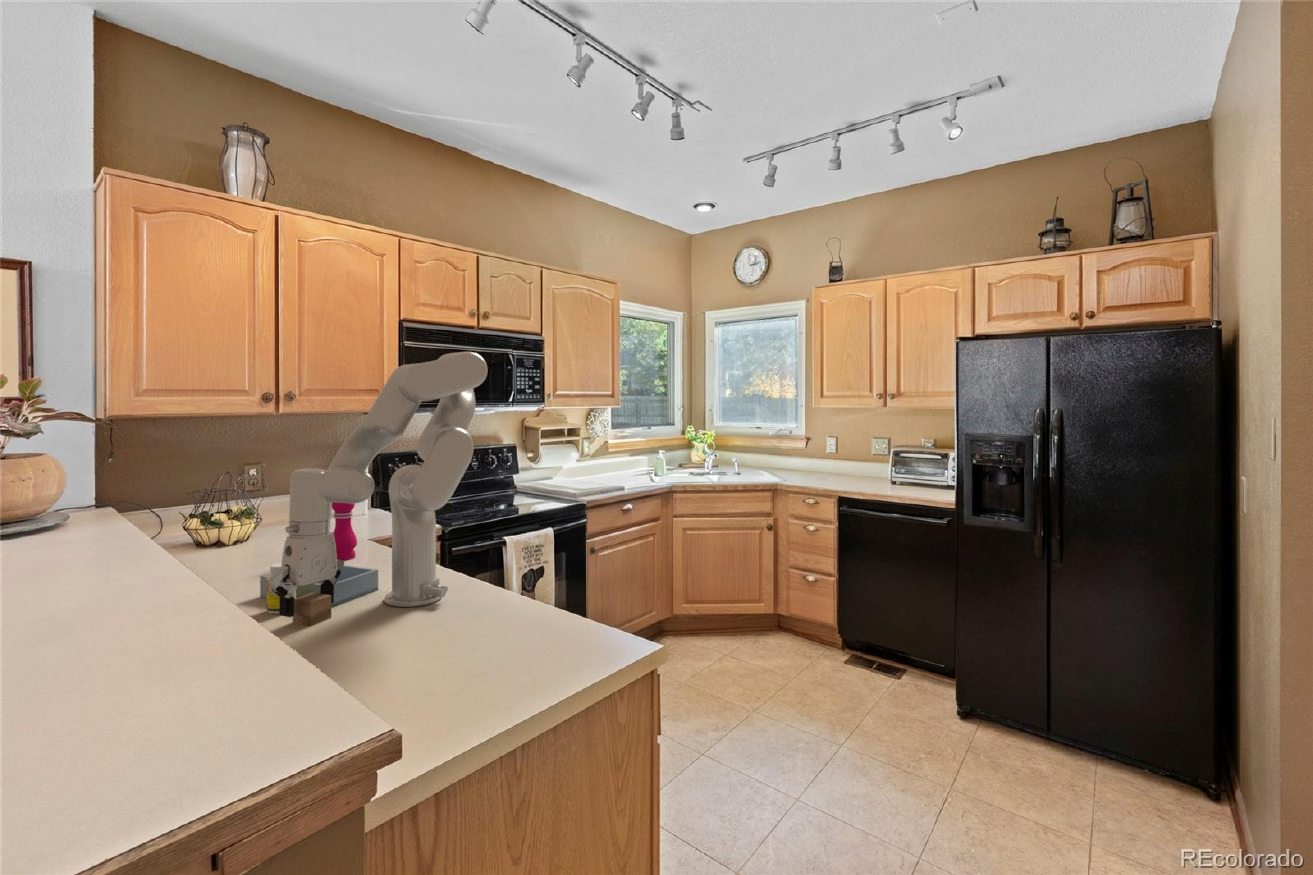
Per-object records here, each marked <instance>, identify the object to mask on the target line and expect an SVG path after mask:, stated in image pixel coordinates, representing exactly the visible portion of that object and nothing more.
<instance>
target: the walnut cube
mask: <svg viewBox="0 0 1313 875" xmlns="http://www.w3.org/2000/svg"><path fill="white" fill-rule="evenodd" d="M331 618H332V607H331V595H326V594H320V593H310V594H307V595H304V596H301V597H298V598H295V599H294V615H293V617H292V624H293V623H294V624H297V625H298V624H299V625H303V626H310V627H312V626H314V625H318V624H319V623H322V622H324V621H327V620H329V619H331Z"/></svg>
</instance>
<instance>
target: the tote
mask: <svg viewBox="0 0 1313 875" xmlns="http://www.w3.org/2000/svg"><path fill="white" fill-rule="evenodd" d="M268 574H270V572H269V573H267V574H262V575H259V576H260V577H259V585H260V586H259V588H260V590H259V591H260V593H259V594H260V598H263V599H264V598H265V599H267V593H266V577H267V575H268ZM322 583H323V581H322V582H318V583H315V584H311V585H308V586H304V587H297V588H296V598H298V597H301V596H304V595H307V594H310V593H320V586H321V584H322ZM378 590H379V569H377V568H376V569H375V568H368V567H361V566H360V567H359V566H354V565H353V566H352V565H347V564H344V565H343V568H342V570H341V574H340V576H339V577H338V579H337V583H336V584H335V585H334V602H333V603H332V604H331V608H333V607H335V606H336V607H337V606H339V605H341V604H344V603H346V602H349V601H353V600H355V599H357V598H360V597H363V596H366V595H368V594H371V593H373V591H374V592H376V591H378Z"/></svg>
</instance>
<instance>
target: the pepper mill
mask: <svg viewBox="0 0 1313 875" xmlns="http://www.w3.org/2000/svg"><path fill="white" fill-rule="evenodd" d="M355 504H356V503H354V504H350V503H336V502H331V510H333V511H334V513H333V518H334V521H335V522H334V525H335V526H334V529H333V531H332V532H333V534H334V539H335V544H336V556H337V559H339V560H342V561H348V560H349V561H350V560H352V559H355V558H356V550H354V549H355V548H356V547H357V545H358V538H357V536H356V534H355V532H354V529H353V526H352V517H353V516H354V515H353V509H354V508H355Z"/></svg>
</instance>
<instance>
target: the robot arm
mask: <svg viewBox="0 0 1313 875" xmlns="http://www.w3.org/2000/svg"><path fill="white" fill-rule="evenodd" d="M487 377H488V365H487V361H485V359H484V357H482V355H480V354H479V353H477V352H472V351H459V352H450V353H445V354H442V355H441V356H439V358H438V359H435V360H431V361H425V362H419V363H410V364H407V363H406V364H402V365H400V366H398V367H397V368H395V369H394V371H392V373H391V374H390V376H389V378H388V379H387V381H386V383H385V384H384V386H383V388H382V389H381V390H380V392H379V394H378V396H377V398H376V399H375V401H374V403H372V406H371V408H370V410H369V411H368V413H367V414H366V416H365V417H364V419H363V420H362V421H361V422H360V423H359V424H358V425H357V426H356V428H355V429H354V430H353V432H351V434H350V435H348V437H347V438H346V439H345V440H344V442H343V443H342V445H341V446H340V447H339V448H338V451H337V452H336V454H335V455H334V457H333V459H332V460H331V461H330V463H329V466H328V467H327V469H324V468H323V469H322V468H300V469H295V470H294V471H292V473H291V474H290V481H289V483H290V484H289V511H288V512H289V513H288V520H289V521H288V525H287V526H285V528H284V530H285V533H287V534H288V536H286V537H285V541H284V547H283V551H282V558H281V563H282V565H281V569H280V570H279V571H278V572H277V573H275V574H274V575H273V576H272V577H270V578H269V579H268V582H269V584H270V586H271V588H272V591H273V592H274V593H275V594H276V595H277V596H278V597H280V603H279V616H282V617H287V618H293V615H294V597H291V596H292V595H293V593H294V591H295V590H296V588H297V587H304V586H308V585H311V584H315V583H318V582H322V581H323V583H322V584H321V586H320V594H326V595H331V604H332V603H333V602H334V585H335V584H336V583H337V579H338V577H339V576H340V574H341V570H342V568H343V565H345V562H344V561H345V560H339V559H337V556H336V544H335V539H334V534H333V532H334V531H331V522H332V521H331V516H332V502H336V503H350V504H354V503H355V504H359V503H362V502H365V501H366V500H368V499H370V497H372V495H373V493H374V491H375V487H376V485H375V481H374V480H375V479H374V478H373V476H372V475H371V474H370V473H368V472H367V469H368V467H369V465H370V464H371V463H372V461H373V460H374V458H376V456H377V455H379V453H380V452H382V450H384V449H385V448H388V447H389V446H390V445H392V444H394V443H395V442H397V441H398V440H399V439H401V438H402V436H403V434H404V433H405V432H406V430H407V428H408V426H409V424H410V422H411V420H412V419H413V417H414V415H415V414H416V412H417V410H418V408H419V407H420V405H421V403H422V402H430V401H435V400H438V399H439V402H438V404H437V406H436V409H435V410H434V412H433V414H432V416H431V418H430V419H429V420H428V422H427V424H426V426H425V427H424V429H423V430H422V432H421V434H420V436H419V437H418V440H417V442H416V452H417V455H418V456H419V458H420V459H421V460H422V461H423V462H422V464H421V465H419V464H409V465H408V464H407V465H404V466H402V467H400V468H397V470H395V472H394V473H393V474H392V476H391V477H390V480H389V484H388V495H389V504H390V510H391V528H392V529H391V575H392V576H391V591H390V592H388V593H386V594H385V596H384V603H385V604H387V605H389V606H391V607H400V608H410V607H411V608H412V607H413V608H414V607H419V606H420V607H421V606H427V605H429V604H432V603H436V602H437V601H439V600H440V599H442V598H445V596H446V594H447V592H448V590H449V587H448V586H447V585H440V578H436V577H437V576H436V574H437V573H436V569H437V566H436V562H437V561H436V560H437V559H436V557H437V555H436V554H437V553H436V551H437V550H436V549H437V548H436V546H437V545H436V542H437V540H436V539H437V537H436V536H437V534H436V533H437V520H436V512H435V511H437V510H440V509H441V508H442V507H444V506H445V505H446V504H447V503H448V502H449V500H450V499H451V498H452V496H453V495H454V493H455V491H456V490H457V487H458V485H459V484H460V481H461V480H462V478H463V476H464V475H465V473H466V471H467V469H468V467H469V465H470V464H471V461H472V458H473V455H474V450H475V445H474V441H473V438H472V435H470V433H469V432H468V431H467V430H468V428H469V426H470V423H471V421H472V419H473V418H474V415H475V411H476V395H475V392H474V391H475V390H474V389H476V388H477V387H479V386H480V385H482V384H483V383H485V382H484V381H485V380H486V379H487ZM280 581H282V583H283V584H282V585H280ZM289 586H290V587H289ZM288 587H289V589H288V590H287V588H288Z"/></svg>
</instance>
